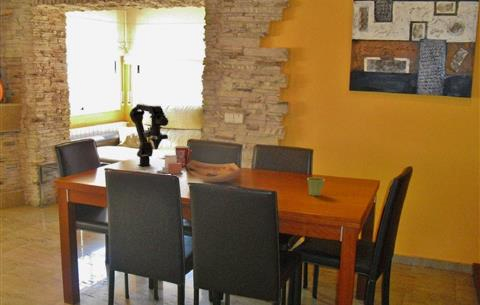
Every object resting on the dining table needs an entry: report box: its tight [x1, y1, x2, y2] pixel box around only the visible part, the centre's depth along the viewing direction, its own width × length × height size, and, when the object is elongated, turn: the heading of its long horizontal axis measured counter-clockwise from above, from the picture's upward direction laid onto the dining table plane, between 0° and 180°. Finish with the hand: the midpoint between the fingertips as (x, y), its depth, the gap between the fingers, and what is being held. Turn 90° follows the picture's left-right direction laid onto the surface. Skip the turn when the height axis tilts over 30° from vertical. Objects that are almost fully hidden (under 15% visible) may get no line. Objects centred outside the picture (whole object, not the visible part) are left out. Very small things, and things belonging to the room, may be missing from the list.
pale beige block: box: [164, 154, 177, 168], centre depth 306 cm, size 4×6×10 cm
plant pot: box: [306, 176, 326, 197], centre depth 263 cm, size 9×9×9 cm
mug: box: [174, 145, 194, 168], centre depth 330 cm, size 13×9×14 cm
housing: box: [156, 163, 184, 176], centre depth 307 cm, size 14×10×7 cm
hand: (156, 149), depth 317 cm, fingers closed
